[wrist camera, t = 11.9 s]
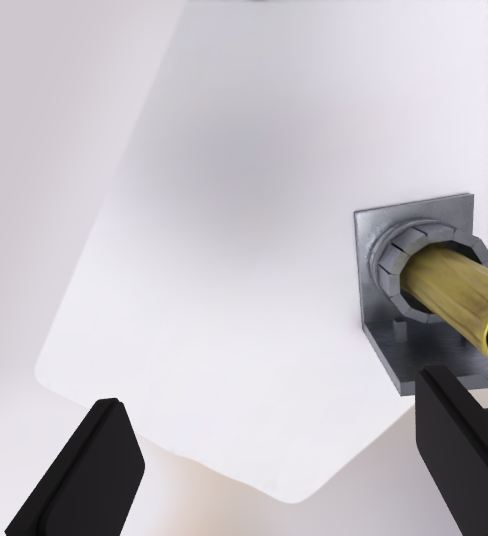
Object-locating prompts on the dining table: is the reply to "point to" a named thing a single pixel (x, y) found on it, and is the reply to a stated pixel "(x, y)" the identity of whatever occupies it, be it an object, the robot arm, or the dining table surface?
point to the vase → (450, 290)
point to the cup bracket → (405, 304)
